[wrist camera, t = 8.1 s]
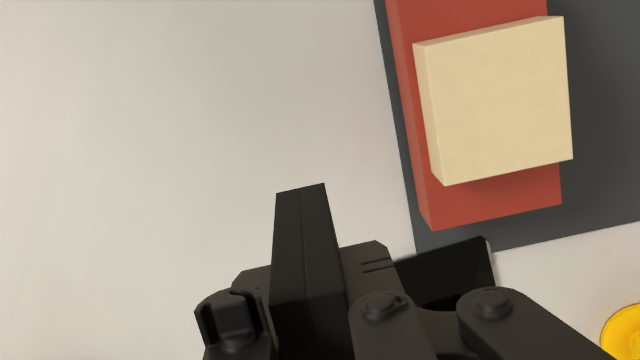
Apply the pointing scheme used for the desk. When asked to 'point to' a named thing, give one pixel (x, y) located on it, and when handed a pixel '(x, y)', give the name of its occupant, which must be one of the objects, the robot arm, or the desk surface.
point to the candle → (623, 334)
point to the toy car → (482, 105)
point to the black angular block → (446, 273)
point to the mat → (586, 128)
